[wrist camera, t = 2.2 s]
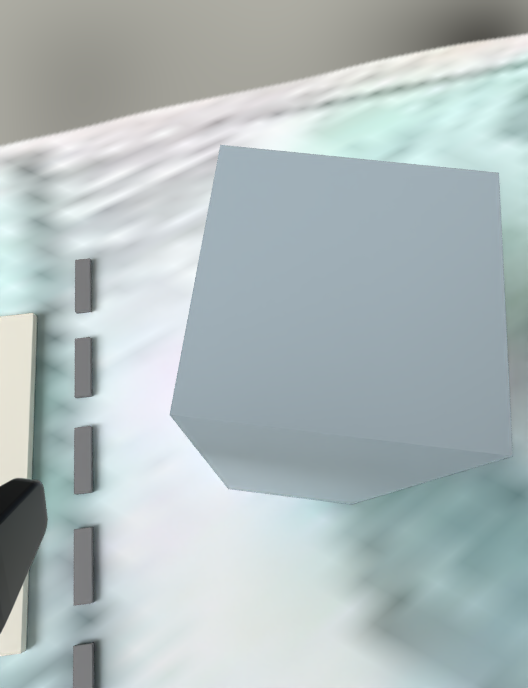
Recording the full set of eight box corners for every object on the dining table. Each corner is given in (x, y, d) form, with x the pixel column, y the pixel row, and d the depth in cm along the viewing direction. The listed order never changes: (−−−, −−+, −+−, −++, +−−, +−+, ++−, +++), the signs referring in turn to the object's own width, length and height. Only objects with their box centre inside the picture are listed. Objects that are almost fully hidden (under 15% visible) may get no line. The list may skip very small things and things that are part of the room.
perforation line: (76, 262, 22) (75, 260, 21) (91, 260, 22) (89, 258, 21) (75, 732, 16) (72, 734, 16) (94, 729, 16) (92, 731, 16)
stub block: (351, 504, 18) (513, 456, 7) (228, 488, 18) (169, 414, 7) (358, 384, 20) (499, 172, 8) (244, 371, 20) (219, 144, 8)
